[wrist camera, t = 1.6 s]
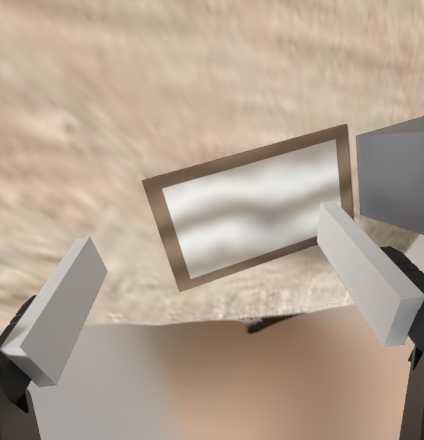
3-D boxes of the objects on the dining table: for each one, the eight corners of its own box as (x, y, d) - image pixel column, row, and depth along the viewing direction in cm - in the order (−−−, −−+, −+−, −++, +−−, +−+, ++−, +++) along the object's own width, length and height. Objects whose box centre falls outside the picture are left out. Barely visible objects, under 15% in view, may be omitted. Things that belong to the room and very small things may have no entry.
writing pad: (142, 180, 31) (141, 181, 30) (342, 124, 35) (347, 123, 34) (178, 289, 36) (179, 293, 35) (350, 229, 40) (355, 231, 39)
